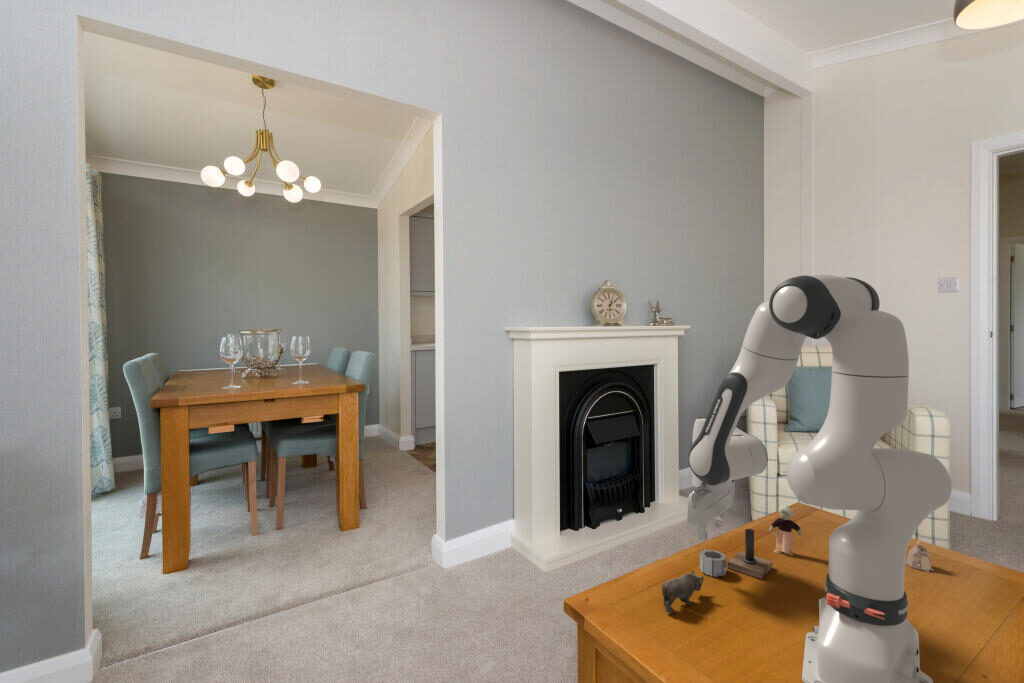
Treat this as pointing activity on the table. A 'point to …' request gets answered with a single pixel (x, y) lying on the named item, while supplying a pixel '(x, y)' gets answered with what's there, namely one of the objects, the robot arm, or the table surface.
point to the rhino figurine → (680, 589)
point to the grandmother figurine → (784, 531)
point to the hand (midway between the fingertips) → (710, 533)
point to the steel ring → (713, 563)
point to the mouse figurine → (919, 558)
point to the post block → (749, 559)
